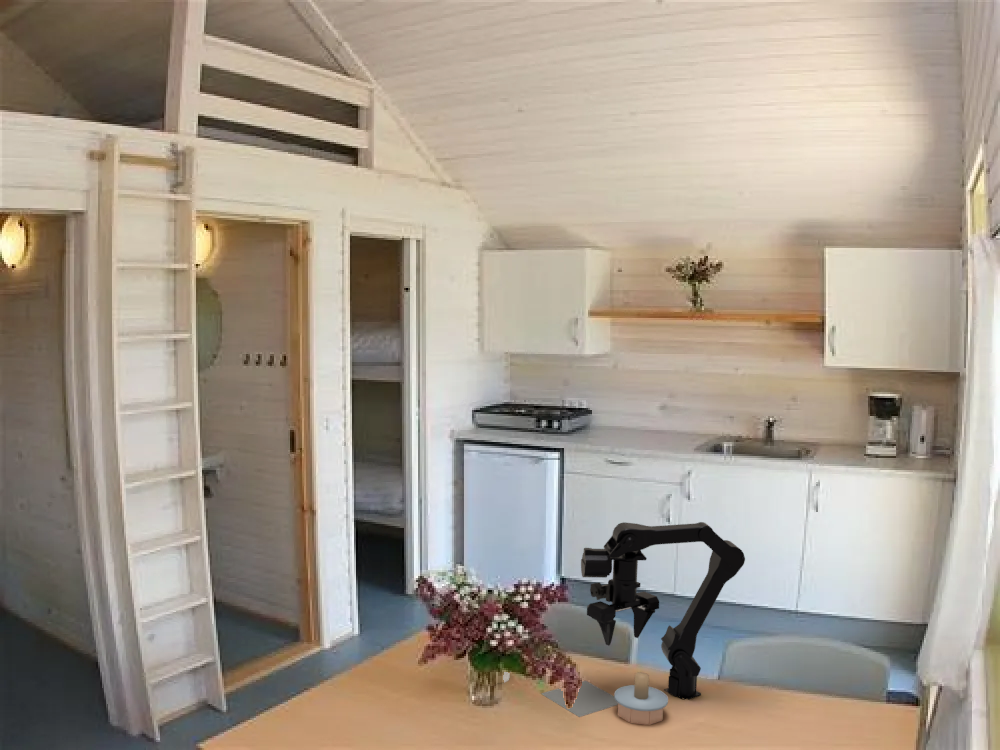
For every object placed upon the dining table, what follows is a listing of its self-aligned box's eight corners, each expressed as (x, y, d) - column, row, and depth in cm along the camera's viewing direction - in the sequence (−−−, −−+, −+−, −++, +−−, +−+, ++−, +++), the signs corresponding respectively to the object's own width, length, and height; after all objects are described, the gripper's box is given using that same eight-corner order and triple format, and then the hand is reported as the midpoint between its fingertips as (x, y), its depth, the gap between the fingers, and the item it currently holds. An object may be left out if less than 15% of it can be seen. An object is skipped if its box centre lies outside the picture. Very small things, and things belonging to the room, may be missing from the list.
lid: (641, 683, 208) (642, 660, 208) (679, 702, 199) (680, 678, 198) (603, 695, 201) (604, 671, 201) (640, 715, 192) (641, 690, 191)
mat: (585, 682, 217) (585, 680, 217) (624, 704, 206) (625, 702, 206) (540, 695, 209) (540, 693, 209) (579, 719, 198) (579, 716, 198)
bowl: (640, 702, 207) (641, 685, 207) (671, 719, 199) (672, 702, 199) (608, 712, 201) (609, 695, 201) (639, 730, 193) (640, 712, 193)
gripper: (629, 562, 221) (627, 623, 222) (572, 574, 210) (570, 637, 212) (662, 574, 212) (659, 637, 213) (604, 587, 201) (601, 653, 203)
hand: (622, 641), depth 210 cm, fingers open, 9 cm apart
